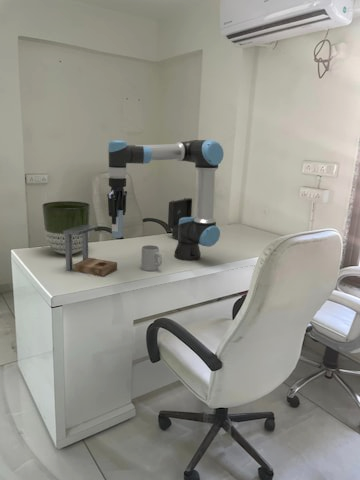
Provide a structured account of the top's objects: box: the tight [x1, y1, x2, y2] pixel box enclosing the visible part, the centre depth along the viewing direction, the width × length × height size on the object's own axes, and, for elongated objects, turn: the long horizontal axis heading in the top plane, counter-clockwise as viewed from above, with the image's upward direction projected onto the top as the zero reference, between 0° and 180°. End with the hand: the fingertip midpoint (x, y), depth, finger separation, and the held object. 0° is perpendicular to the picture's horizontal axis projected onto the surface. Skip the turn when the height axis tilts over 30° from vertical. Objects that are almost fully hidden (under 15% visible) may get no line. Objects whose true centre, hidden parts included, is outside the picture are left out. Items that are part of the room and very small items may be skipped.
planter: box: [41, 200, 91, 255], centre depth 200 cm, size 24×24×27 cm
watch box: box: [167, 197, 193, 238], centre depth 253 cm, size 26×28×24 cm
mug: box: [140, 244, 163, 272], centre depth 182 cm, size 12×8×11 cm
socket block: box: [73, 257, 118, 278], centre depth 177 cm, size 16×12×4 cm
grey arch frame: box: [63, 224, 99, 272], centre depth 177 cm, size 8×16×20 cm, turn 159°
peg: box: [111, 210, 124, 239], centre depth 164 cm, size 4×4×12 cm
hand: (117, 230), depth 164 cm, fingers closed on peg, 3 cm apart
